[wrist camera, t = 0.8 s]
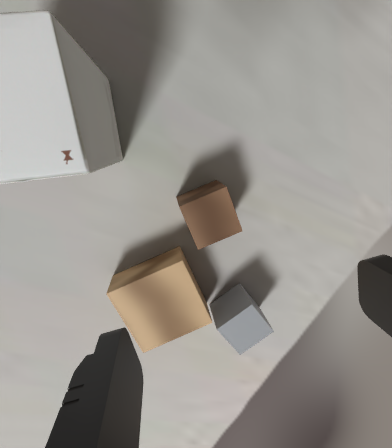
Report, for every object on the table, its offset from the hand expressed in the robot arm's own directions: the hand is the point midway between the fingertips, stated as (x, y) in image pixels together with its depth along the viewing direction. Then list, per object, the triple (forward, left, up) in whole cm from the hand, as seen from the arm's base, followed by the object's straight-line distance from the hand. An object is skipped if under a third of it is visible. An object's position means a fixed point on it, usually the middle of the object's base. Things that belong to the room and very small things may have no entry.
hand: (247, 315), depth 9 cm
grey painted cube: (0, +15, -20) cm, 24 cm away
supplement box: (+7, -10, -20) cm, 23 cm away
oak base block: (+7, +9, -20) cm, 23 cm away
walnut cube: (-1, +2, -20) cm, 20 cm away
